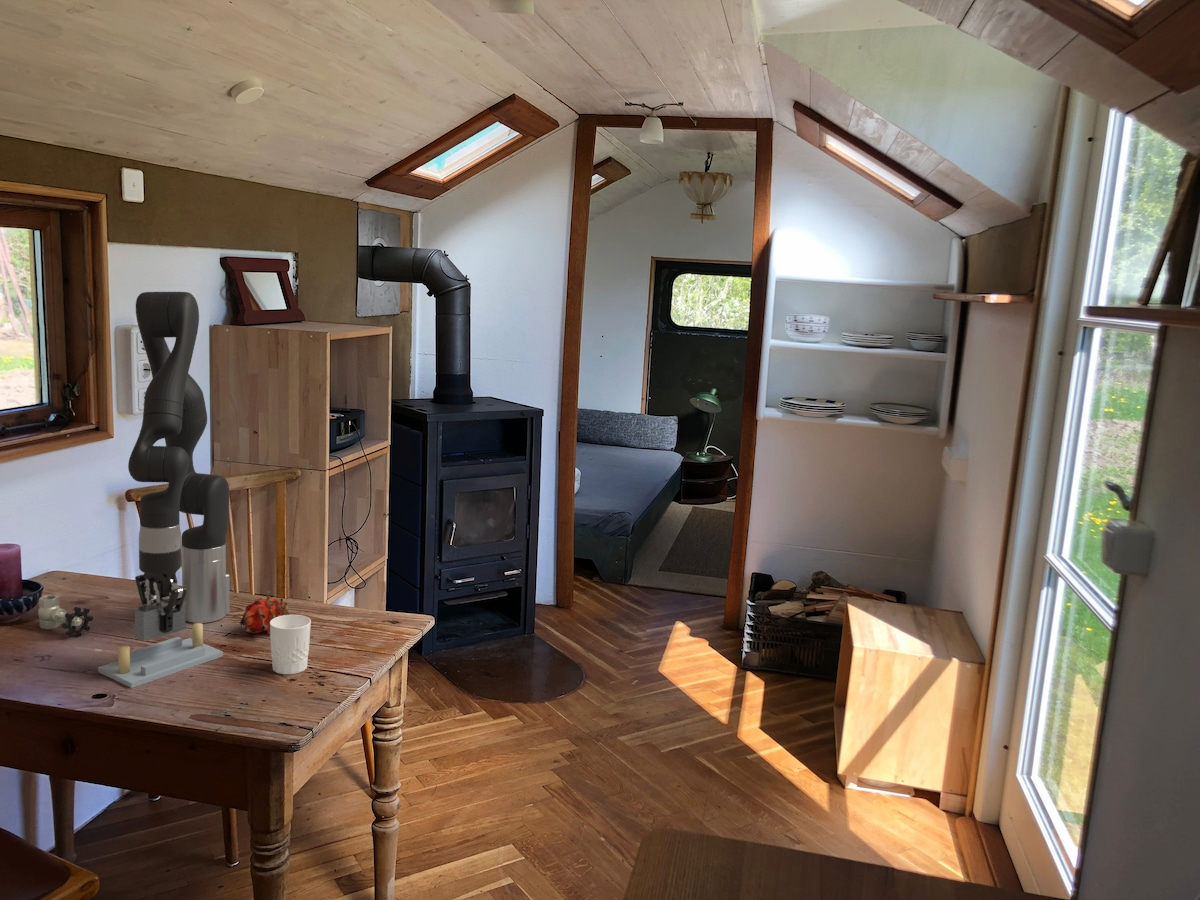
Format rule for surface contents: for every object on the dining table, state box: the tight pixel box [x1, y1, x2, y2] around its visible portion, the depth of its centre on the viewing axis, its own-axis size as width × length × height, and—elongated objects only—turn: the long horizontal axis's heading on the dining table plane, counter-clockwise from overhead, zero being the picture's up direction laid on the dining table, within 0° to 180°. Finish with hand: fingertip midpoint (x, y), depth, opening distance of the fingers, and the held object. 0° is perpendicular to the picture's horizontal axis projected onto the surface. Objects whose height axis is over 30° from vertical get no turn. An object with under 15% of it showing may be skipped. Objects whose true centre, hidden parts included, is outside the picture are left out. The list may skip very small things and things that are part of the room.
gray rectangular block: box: [134, 601, 187, 642], centre depth 187 cm, size 9×3×6 cm, turn 148°
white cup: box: [269, 614, 312, 675], centre depth 190 cm, size 8×8×10 cm
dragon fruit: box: [239, 595, 290, 635], centre depth 208 cm, size 8×8×12 cm
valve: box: [37, 594, 94, 638], centre depth 200 cm, size 7×7×12 cm
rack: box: [97, 623, 224, 689], centre depth 188 cm, size 20×11×6 cm, turn 148°
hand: (160, 628), depth 187 cm, fingers closed on gray rectangular block, 3 cm apart
